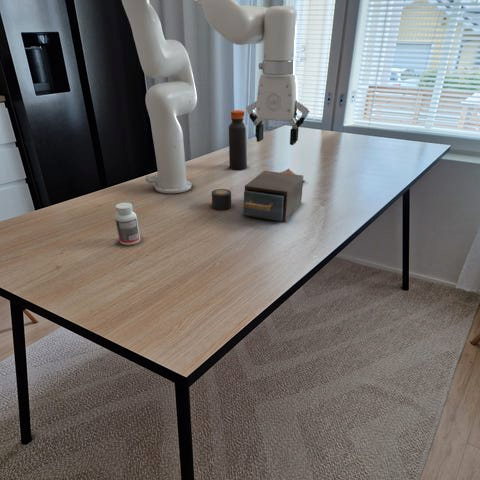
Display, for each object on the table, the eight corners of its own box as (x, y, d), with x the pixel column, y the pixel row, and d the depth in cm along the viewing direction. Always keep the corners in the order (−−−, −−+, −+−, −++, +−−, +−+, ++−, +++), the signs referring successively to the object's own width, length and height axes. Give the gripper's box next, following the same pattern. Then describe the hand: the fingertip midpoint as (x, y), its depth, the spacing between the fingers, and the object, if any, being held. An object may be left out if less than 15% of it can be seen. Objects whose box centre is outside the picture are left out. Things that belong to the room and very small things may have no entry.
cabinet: (285, 222, 117) (287, 191, 112) (244, 215, 122) (244, 185, 116) (301, 203, 129) (303, 175, 124) (263, 198, 133) (264, 170, 128)
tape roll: (211, 210, 125) (211, 195, 122) (212, 203, 130) (211, 188, 127) (231, 209, 125) (231, 195, 122) (231, 202, 130) (231, 188, 127)
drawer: (275, 227, 112) (276, 203, 108) (237, 220, 116) (237, 197, 112) (296, 203, 126) (298, 181, 122) (261, 198, 130) (262, 176, 126)
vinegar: (227, 169, 159) (225, 112, 147) (232, 164, 164) (232, 109, 152) (243, 170, 157) (243, 113, 145) (248, 165, 162) (249, 110, 150)
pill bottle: (121, 237, 110) (114, 201, 104) (141, 236, 110) (135, 201, 104) (118, 246, 105) (111, 209, 100) (139, 245, 106) (133, 208, 100)
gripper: (240, 69, 101) (241, 142, 111) (307, 71, 95) (301, 148, 105) (253, 66, 107) (253, 136, 117) (317, 68, 100) (311, 142, 111)
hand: (276, 142), depth 111 cm, fingers open, 9 cm apart
